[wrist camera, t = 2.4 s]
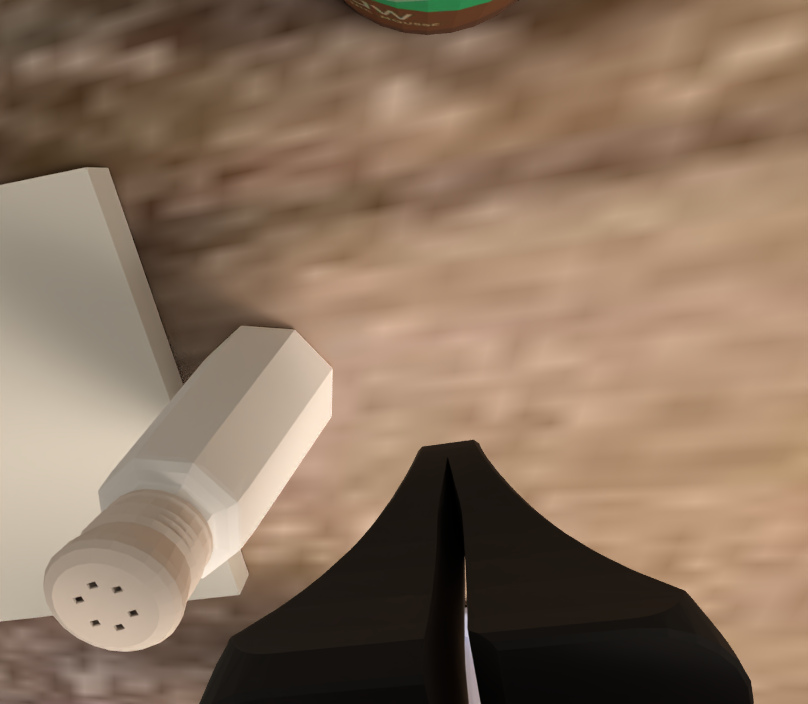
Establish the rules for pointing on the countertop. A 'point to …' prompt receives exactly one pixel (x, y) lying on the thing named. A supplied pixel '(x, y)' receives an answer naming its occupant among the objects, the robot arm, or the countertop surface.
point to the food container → (429, 13)
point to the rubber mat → (72, 373)
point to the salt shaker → (191, 489)
